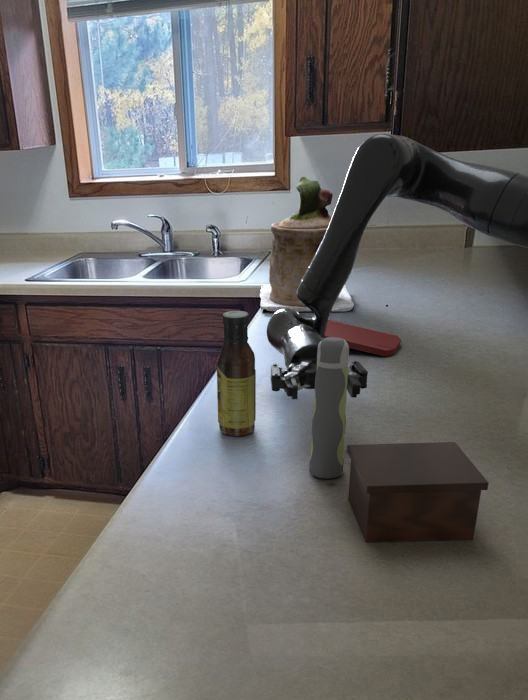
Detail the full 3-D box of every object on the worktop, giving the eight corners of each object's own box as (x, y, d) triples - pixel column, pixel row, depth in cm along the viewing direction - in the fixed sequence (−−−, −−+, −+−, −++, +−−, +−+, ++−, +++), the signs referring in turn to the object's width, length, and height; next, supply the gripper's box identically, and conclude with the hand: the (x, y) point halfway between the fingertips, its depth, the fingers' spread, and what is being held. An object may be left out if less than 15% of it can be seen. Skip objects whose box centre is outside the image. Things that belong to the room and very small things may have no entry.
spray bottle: (346, 468, 109) (355, 335, 100) (339, 482, 105) (348, 345, 96) (313, 464, 110) (320, 332, 102) (305, 477, 106) (311, 342, 98)
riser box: (447, 495, 100) (455, 441, 96) (479, 541, 89) (488, 482, 86) (343, 498, 100) (347, 444, 97) (362, 544, 90) (367, 485, 86)
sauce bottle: (226, 421, 127) (225, 306, 118) (260, 426, 125) (262, 309, 116) (211, 435, 122) (209, 316, 113) (247, 440, 119) (247, 319, 111)
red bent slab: (398, 357, 167) (293, 332, 175) (403, 336, 164) (296, 312, 173) (386, 373, 157) (276, 346, 166) (392, 351, 154) (280, 324, 163)
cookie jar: (259, 313, 194) (260, 183, 180) (259, 293, 216) (261, 175, 202) (355, 312, 191) (364, 179, 177) (345, 291, 213) (353, 171, 199)
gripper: (265, 338, 120) (276, 369, 105) (354, 335, 119) (377, 365, 105) (264, 382, 123) (275, 418, 108) (350, 379, 122) (372, 415, 108)
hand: (325, 392), depth 106 cm, fingers open, 8 cm apart
